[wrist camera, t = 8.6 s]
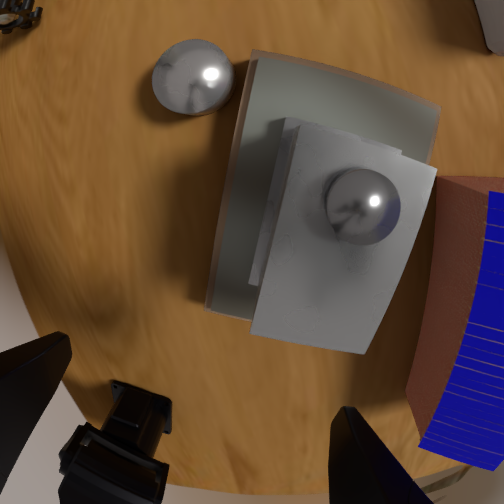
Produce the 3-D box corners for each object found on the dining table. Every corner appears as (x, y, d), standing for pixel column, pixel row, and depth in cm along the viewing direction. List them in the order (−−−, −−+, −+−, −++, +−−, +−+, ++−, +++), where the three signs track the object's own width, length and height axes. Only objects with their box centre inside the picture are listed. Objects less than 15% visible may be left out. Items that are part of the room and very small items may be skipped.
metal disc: (229, 120, 17) (221, 118, 15) (161, 111, 17) (145, 109, 15) (243, 53, 15) (237, 42, 13) (174, 48, 15) (161, 38, 13)
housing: (347, 297, 18) (373, 376, 11) (250, 275, 18) (232, 352, 11) (395, 149, 14) (462, 163, 8) (285, 117, 14) (288, 103, 8)
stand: (357, 326, 21) (364, 346, 19) (210, 295, 21) (202, 314, 19) (426, 108, 15) (445, 106, 13) (255, 57, 15) (251, 46, 13)
